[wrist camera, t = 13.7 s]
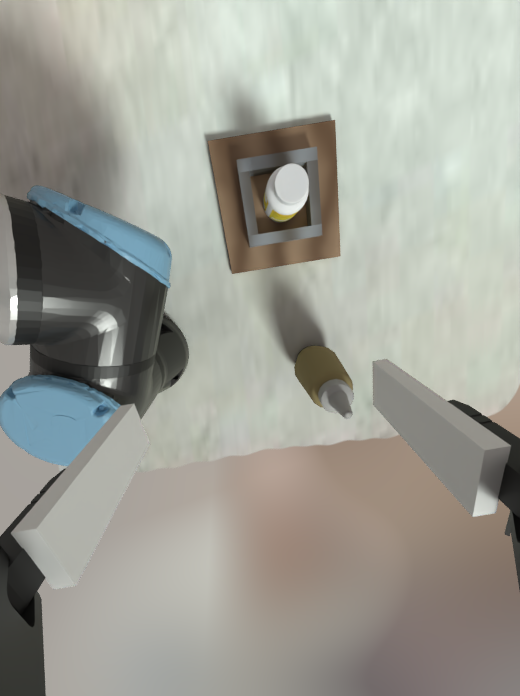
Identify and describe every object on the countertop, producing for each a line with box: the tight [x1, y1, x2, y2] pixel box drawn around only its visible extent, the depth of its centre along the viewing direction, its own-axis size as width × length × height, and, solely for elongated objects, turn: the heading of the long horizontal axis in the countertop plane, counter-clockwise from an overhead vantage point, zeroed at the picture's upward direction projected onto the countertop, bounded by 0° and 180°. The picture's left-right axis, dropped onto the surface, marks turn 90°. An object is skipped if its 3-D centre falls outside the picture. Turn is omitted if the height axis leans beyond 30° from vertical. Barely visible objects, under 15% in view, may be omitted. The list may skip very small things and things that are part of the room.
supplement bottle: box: [263, 163, 309, 222], centre depth 33 cm, size 5×5×10 cm
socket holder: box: [208, 120, 340, 274], centre depth 37 cm, size 18×18×4 cm
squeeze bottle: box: [294, 346, 354, 419], centre depth 39 cm, size 8×8×18 cm
